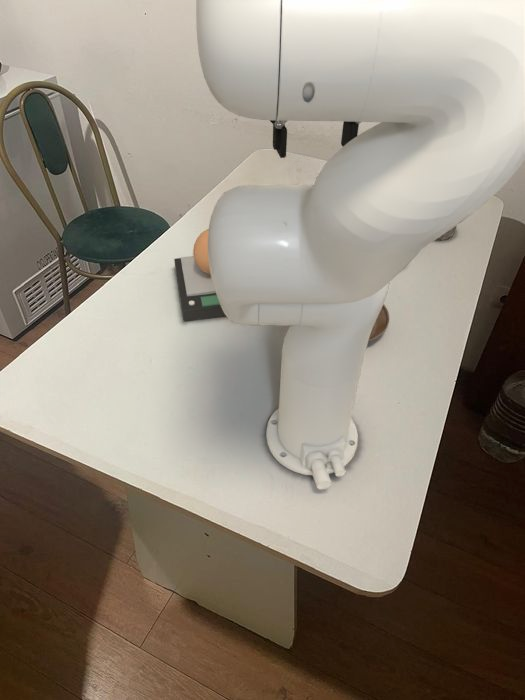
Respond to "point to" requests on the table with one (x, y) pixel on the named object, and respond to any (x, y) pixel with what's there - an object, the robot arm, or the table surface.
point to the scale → (196, 291)
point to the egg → (202, 252)
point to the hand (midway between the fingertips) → (314, 151)
